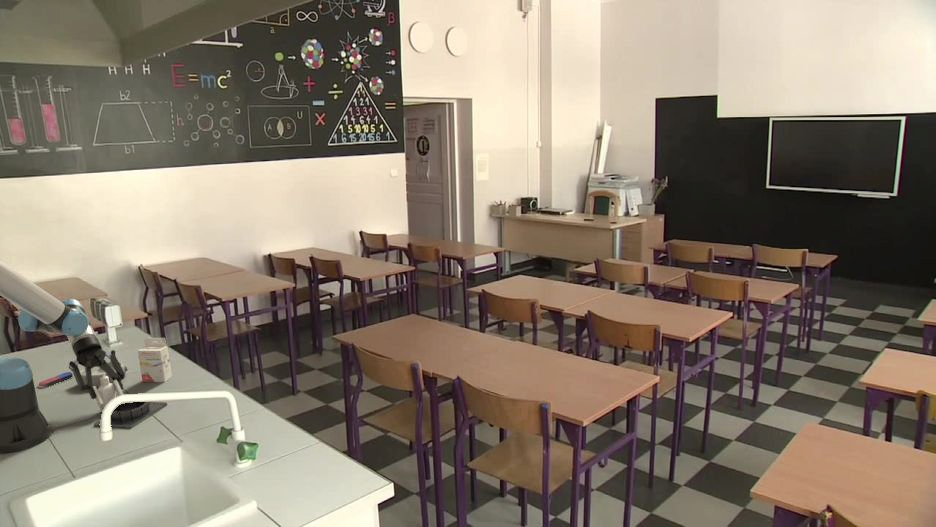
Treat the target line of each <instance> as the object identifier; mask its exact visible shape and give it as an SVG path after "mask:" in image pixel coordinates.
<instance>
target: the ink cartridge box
mask: <svg viewBox="0 0 936 527" xmlns="http://www.w3.org/2000/svg"><path fill="white" fill-rule="evenodd" d="M143 340H144V346H143V347H140V348H139V349H138V350H137V353H138V354H137V355H138V362H139V368H140V374H141V380H142V382H143V383H165V382H167V381H169V380H170V379H171V378H172V377H173V375H172V374H173V373H172V368H171V362H170V361H171V360H170V355H169V348H168V344H167V339H166V338H165V337H144V338H143ZM154 341H156V342H154Z"/></svg>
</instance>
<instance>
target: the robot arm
mask: <svg viewBox="0 0 936 527" xmlns="http://www.w3.org/2000/svg"><path fill="white" fill-rule="evenodd" d="M0 296H1V297H2V298H3V299H5V300H7V301H8V302H10V303H12V304H13V305H15V306H16V307H18V308H20V309H21V310H20V312H19V315H18V325H19V327H20V329H21V330H22V331H24V332H32V333H33V332H44V333H51V334H58V335H64V336H66V337H67V339H68V341H69V344H70V346H71V347H72V351H73V353H74V356H75V357H76V360H74V361H73V360H72V361H69V363H68V369H69V370H70V371H71V373H72V374H73V376H74V379H75V381H76V383H77V386H78V388H79V391H80V392H84V391H86V392H87V393H88V395H89V396H90V399H92V400H95V401H96V403H97V405H98V407H99V409H100V408H102V407H103V404H104V403H103V401H102V399H101V397H100V394H99V392H98V387H96V386H93V387H92V369H94V368H95V367H96V368H98V367H99V368H101V369H103V370H104V371H105V372H106V373H107V375H108V376H109V377H110V378H111V379H112V380H113V381H114V382H113V384H114V386H115V391H116V396H119V395H123V394H124V392H123V390H124V384H123V382H122V380H124V378H125V377H124V375H125V373H124V371H123V369H122V367H121V366H120V364H119V362H120V361H119V360H118V358H117V356H116V350H114V349H112V350H110V351H105V350H104V349H103V347H102V345H101V343H100V340H99V339H98V337H97V334H96V333H95V330H94V328H93V327H92V323H91V322H90V319H89V316H88V315H87V313H86V310H85V308H84V307H83V305H82V303H81V302H80V301H79V300H78V299H74V298H69V299H65V300H62V301H60V300H59V299H58V298H56V297H54V296H53V295H52V294H50V293H49V292H48V291H46V290H44V289H43V288H41V286H38V285H37V284H36V283H34V282H33V281H31V280H30V279H28V278H27V277H25V276H24V275H23V274H21V273H19V272H18V271H17V270H15V269H14V268H12V267H11V266H9V265H8V264H7V263H5V262H4V261H2V260H0ZM106 357H107V359H109V360H110V361H109V362H111V363H112V365H113V367H114V369H115V371H116V372H115V371H114V370H113V369H112V368H111V367H110V366H109V365H108V364H107V363H106V362H107V361H106V360H105V358H106ZM79 365H80V366H82V367H84V370H85V372H86V383H87V385H85V383H84V381H83V378H82V376H81V373H80V371H81V370H80V368H79ZM33 375H34V374H33V370H32V369H31V365H30V363H29V362H28V361H27V360H25V359H23V358H18V357H11V358H9V357H5V358H4V357H3V358H0V454H7V453H8V452H9V453H14V451H15V452H19V451H22V450H26V449H29V448H31V447H34V446H36V445H39V444H40V443H42V442H44V441H46V440H47V439H48V438H49V437H50V436H51V434H52V429H51V426H50V423H49V422H48V421H47V419H46V417H45V416H44V414H43V413H42V411H41V410H40V407H39V402H38V397H37V392H36V388H35V382H34V378H33ZM125 376H126V375H125ZM121 379H122V380H121Z"/></svg>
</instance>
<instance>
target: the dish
mask: <svg viewBox="0 0 936 527" xmlns="http://www.w3.org/2000/svg"><path fill="white" fill-rule="evenodd" d="M118 362H119V364H120V366H121V367H122V369H123V371H124V373H125V375H124V378H125V377H126V376H127V375H126V372H128V369H129V368H128V365H127V364H123V362H121V361H118ZM106 363H107V364H108V365H109V366H110V367H111V368H112V369H113V370H114V371H115V369H114V367H113V365H112V363H111V361H108V362H107V361H106ZM79 371H80V373H81V376H82V378H83V381H84V383H85V385H87V383H86V372H85V369H81V370H79ZM115 372H116V371H115ZM91 373H92V387H93V386H96V388H99V387H100V386H101V384H100V378H101V377H102V373H105V376H108V375H107V373H106V372H105V371H104V370H103V369H101V368H100V367H99V368H98V369H97V370H96V371H91ZM108 377H109V376H108ZM122 380H123V379H121V381H122ZM113 382H114V381H113V380H112V379H111V378H110V377H109V383H113Z"/></svg>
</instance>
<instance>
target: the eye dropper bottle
mask: <svg viewBox="0 0 936 527" xmlns="http://www.w3.org/2000/svg"><path fill="white" fill-rule="evenodd" d="M100 384H101V386H100V387H97V390H98V392H99V394H100V397H101V399H102V401H103V403H104V404H103V407H102V408H99V409H100V412H101V413H102V410H103V409H104V407H105V405H106V404H107V403H108V402H109V401H110V400H111V399H113V398H114V397H117V392H116V390H115V386H114V384H113V383H109V377H108V376H105V373H102V377H101V378H100Z"/></svg>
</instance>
